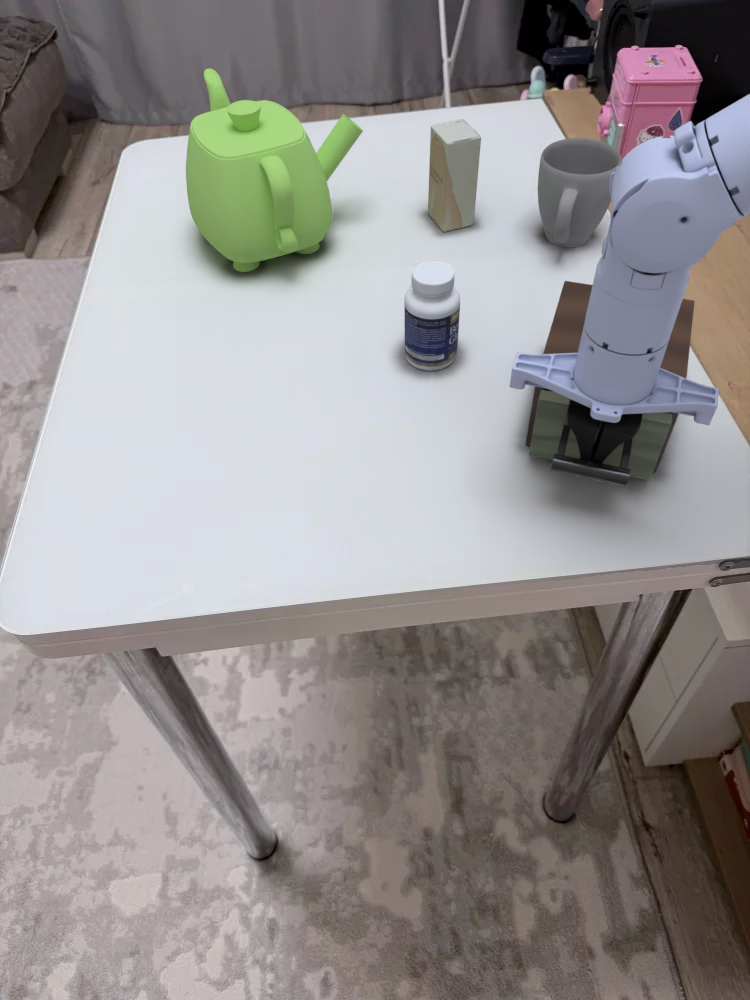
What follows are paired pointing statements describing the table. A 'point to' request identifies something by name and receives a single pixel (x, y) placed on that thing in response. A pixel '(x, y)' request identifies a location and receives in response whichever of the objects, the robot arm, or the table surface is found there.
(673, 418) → the cabinet
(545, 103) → the table surface
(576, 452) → the drawer
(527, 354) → the robot arm
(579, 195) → the mug
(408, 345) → the pill bottle
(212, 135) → the teapot
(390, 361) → the table surface
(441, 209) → the box
